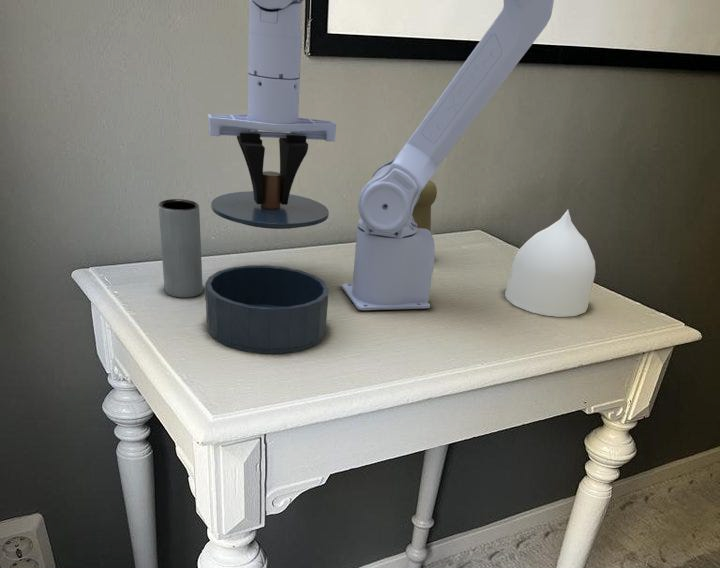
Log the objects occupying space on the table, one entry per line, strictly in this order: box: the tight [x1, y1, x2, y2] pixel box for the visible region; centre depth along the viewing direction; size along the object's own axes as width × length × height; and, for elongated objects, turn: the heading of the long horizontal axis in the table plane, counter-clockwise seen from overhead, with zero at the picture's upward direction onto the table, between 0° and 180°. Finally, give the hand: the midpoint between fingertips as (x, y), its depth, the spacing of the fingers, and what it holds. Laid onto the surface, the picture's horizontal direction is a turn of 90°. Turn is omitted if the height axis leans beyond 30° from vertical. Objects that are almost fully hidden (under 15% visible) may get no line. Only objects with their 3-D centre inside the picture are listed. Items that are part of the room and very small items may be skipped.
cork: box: [412, 179, 438, 233], centre depth 106 cm, size 6×6×11 cm
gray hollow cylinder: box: [158, 198, 203, 298], centre depth 87 cm, size 4×4×10 cm
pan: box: [204, 264, 330, 355], centre depth 81 cm, size 13×13×5 cm
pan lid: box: [210, 170, 330, 230], centre depth 88 cm, size 14×14×5 cm
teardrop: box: [504, 209, 596, 318], centre depth 95 cm, size 11×11×12 cm
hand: (271, 202), depth 89 cm, fingers closed on pan lid, 2 cm apart
